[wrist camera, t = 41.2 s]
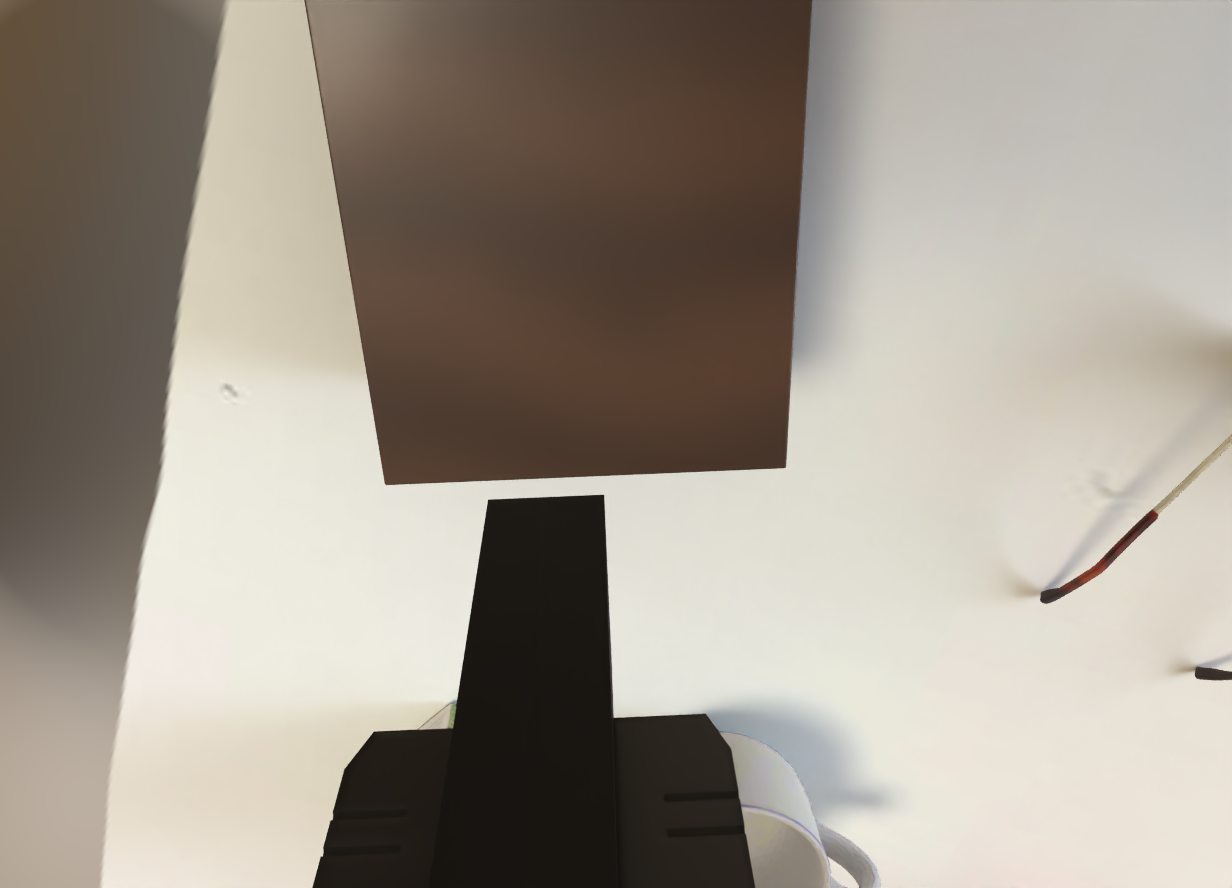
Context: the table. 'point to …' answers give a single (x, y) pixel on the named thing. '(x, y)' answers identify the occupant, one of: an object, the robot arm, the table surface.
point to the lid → (569, 229)
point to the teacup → (788, 825)
